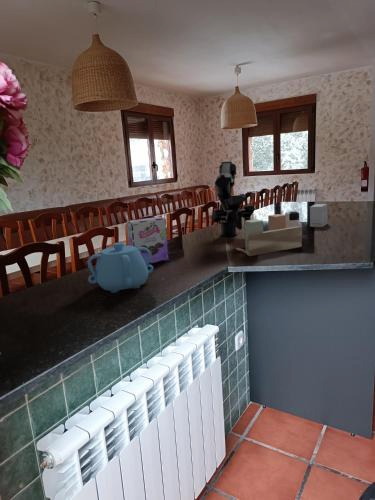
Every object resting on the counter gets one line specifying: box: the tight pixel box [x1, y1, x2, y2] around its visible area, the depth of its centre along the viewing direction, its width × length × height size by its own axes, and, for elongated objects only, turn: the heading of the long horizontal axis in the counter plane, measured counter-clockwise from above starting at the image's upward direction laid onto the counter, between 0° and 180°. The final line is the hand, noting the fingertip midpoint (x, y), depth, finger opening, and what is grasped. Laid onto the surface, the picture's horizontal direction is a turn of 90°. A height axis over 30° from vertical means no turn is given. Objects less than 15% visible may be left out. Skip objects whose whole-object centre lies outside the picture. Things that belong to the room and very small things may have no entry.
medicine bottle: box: [284, 210, 303, 228], centre depth 153 cm, size 7×7×12 cm
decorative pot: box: [87, 241, 154, 294], centre depth 106 cm, size 16×16×14 cm
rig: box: [235, 226, 303, 257], centre depth 140 cm, size 12×24×8 cm, turn 112°
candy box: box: [126, 216, 170, 265], centre depth 131 cm, size 14×6×16 cm, turn 117°
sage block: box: [244, 219, 264, 251], centre depth 136 cm, size 5×5×12 cm
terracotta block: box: [267, 213, 286, 231], centre depth 145 cm, size 5×5×12 cm
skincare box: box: [309, 203, 328, 228], centre depth 180 cm, size 10×6×10 cm, turn 145°
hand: (241, 229), depth 145 cm, fingers closed
